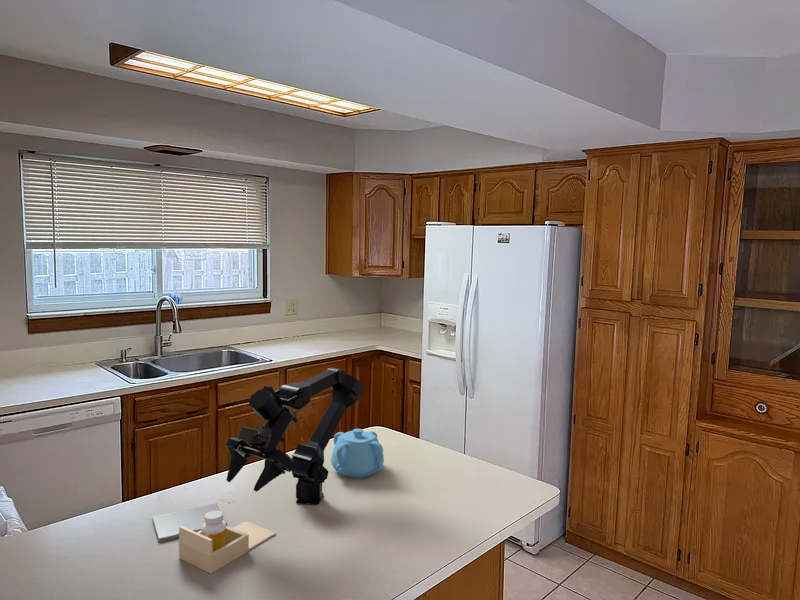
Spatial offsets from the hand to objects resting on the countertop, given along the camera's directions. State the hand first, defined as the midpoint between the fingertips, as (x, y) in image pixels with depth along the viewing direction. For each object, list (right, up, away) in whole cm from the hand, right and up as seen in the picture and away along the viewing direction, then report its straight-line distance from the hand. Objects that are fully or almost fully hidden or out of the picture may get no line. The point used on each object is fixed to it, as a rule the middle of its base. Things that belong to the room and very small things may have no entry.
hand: (241, 486), depth 136 cm
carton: (-2, -14, -2) cm, 14 cm away
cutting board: (-15, -12, +8) cm, 21 cm away
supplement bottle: (-5, -14, -6) cm, 16 cm away
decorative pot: (+25, -10, +43) cm, 50 cm away
